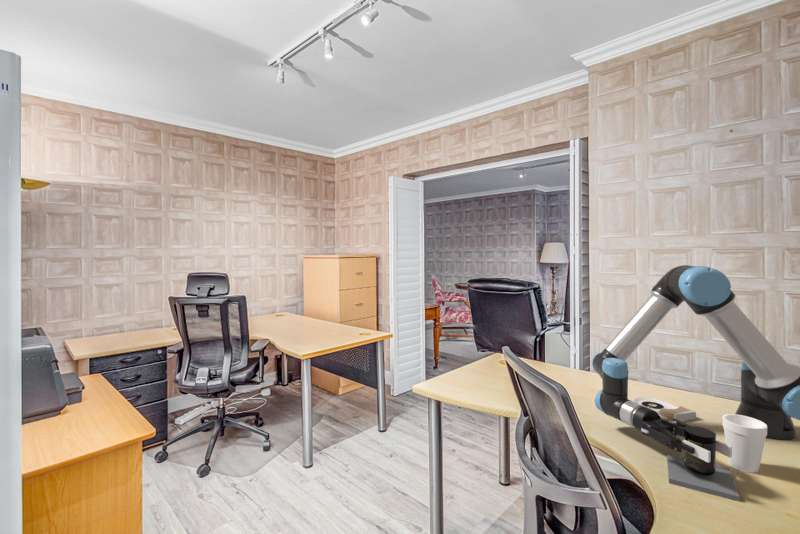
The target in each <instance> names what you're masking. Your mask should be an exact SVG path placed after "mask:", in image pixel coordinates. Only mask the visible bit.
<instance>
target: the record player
mask: <svg viewBox="0 0 800 534" xmlns="http://www.w3.org/2000/svg"><path fill="white" fill-rule="evenodd" d="M633 402H635V403H638V404H640V405H643V406H644V407H647V408H649V409H652V410H654V411H656V412H657V413H658V414H659V416H660V417H661V416H662V417H664V418H666V419H667V420H671V421H673V419H677V420H679V421H680V422H686V421H693V420H696V418H697V412H696V411H694V410H691V409H689V408H686V407H684V406H681V405H679V407H677V406H676V405H673V404H670V403H668V402H666V401H664V400H661V399H658V398H654V397H653V398H652V397H647V396H646V397H642V396H641V397H635V398H633Z"/></svg>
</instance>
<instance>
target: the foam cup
mask: <svg viewBox="0 0 800 534" xmlns="http://www.w3.org/2000/svg"><path fill="white" fill-rule="evenodd" d="M722 428H723V433H724V440H725V444H727V445H729V446H731V447H732V457H728V456H727V460H728V464H729V465H730V466H731V467H732V468H735V469H737V470H739V471H741V472H742V471H743V472H746V473H755V474H756V473H757V472H759V470H760V466H761V461H762V457H763V452H764V447H765V442H766V438H767V437H766V436H767V424H765V423H764V422H762V421H760V420H757V419H755V418H751V417H747V416H743V415H736V414H735V413H731V414H730V413H726V414H723V415H722Z"/></svg>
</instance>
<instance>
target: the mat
mask: <svg viewBox="0 0 800 534" xmlns="http://www.w3.org/2000/svg"><path fill="white" fill-rule="evenodd" d="M666 460H667V463H666V464H667V475H668V476H667V477H668V484H671V485H676V486H679V487H684V488H687V489H691V490H693V491H698V492H703V493H705V494H710V495H713V496H717V497H722V498H725V499H729V500H733V501H736V502H740V495H739V492H738V489H737V487H736V484H735V483H736V482H735V481H734V478H733V476H732V475H733V474H732V473H731V470H730V468H728V467H723V466H720V465H716V471H715V473H714V474H713V475H709V476H706V475H700V474H697V473H694V472H692V471H690V470H689V469H688V468H687V467H686V466H685V464H684V457H679V456H676V455H675V456H674V455H671V454H666Z"/></svg>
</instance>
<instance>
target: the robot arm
mask: <svg viewBox="0 0 800 534" xmlns="http://www.w3.org/2000/svg"><path fill="white" fill-rule="evenodd" d="M731 288H732V286H731V282H730V280H729V278H728V277H727V275H726V274H724V273H723V272H722V271H720V270H718V269H716V268H712V267H711V266H710V267H709V266H705V265H700V266H696V265H679V266H676V267H673V268H671V269H670V270H668V271H667V272H666V273H665V274H664V275H663V276H662V277H661V278H660V279H659V281H657V283H656V284H655V285H654V286H653V287H652V288H651V290H650V291H649V292H650V296H649V297H648V298H647V299H646V301H644V303H643V304H642V305H640V307H639V309H638V310H637V311H636V312H635V313H634V314H633V315H632V317H631V318H630V319H629V320H628V321H627V323H626V324H625V325H624V326H623V327H622V329H620V331H619V332H618V333H617V334H616V336H615V337H614V338H613V339H612V340H611V341H610V342H609V343H608V345H607V346H606V347H605V348H604V349H602V351H601V352H597V353H595V354H594V355H593V356H592V358H591V365H592V368H593V370H594V371H595V372H596V373H597V374H598V375H599V377H600V378H601V380H602V390H601V389H600V390H599V391H598V392H597V393H596V396H595V397H594V405H595V407H596V408H597V409H598V411H601V412H603V413H604V414H605V415H606V416H609V417H612V418H614V419H616V420H618V421H619V422H621V423H623V424H626V425H627V426H630V427H631V428H632V429H633V428H634V429H636V430H637V431H640V432H641V435H643V436H646V437H649V438H650V439H652V440H654V441H656V442H658V443H659V444H661V445H662V446H664V447H666V448H668V449H670V450H671V451H672V450H674V449H675V450H676V452H677V453H682V451H683V452H684V451H686V452H688V453H690V454H692V455H694V456H696V457H698V458H700V459H702V460H704V461H706V462H708V463H709V462H710V459H711V452H710V451H708V450H706V449H704V448H701V447H699V446H697V445H695V444H693V443H691V442H689V441H686V440H684V439H681V438H679V437H682V438H684V428H685V427H686V426H691V425H690V424H688V423H685V422H683V421H681V422H680V421H679V420H677V419H673V420H672V421H669V419H665V418H661V415H659V414H658V413H657V412H656V411H654V410H652V409H649V408H647V407H644V406H643V405H640V404H638V403H635V402H634V400H631V399H629V398H628V397H629V394H628V393H629V388H628V387H629V372H630V371H629V368H628V367H629V364H628V363H627V361H626V360H628V359H629V357H630V356H631V355H632V354H633V353H634V352H635V351H636V350H637V348H638V347H639V346H640V345H641V344H642V343H643V342H644V340H646V338H648V336H649V335H650V334H651V332H652V331H653V330H655V328H656V327H657V326H658V325H659V324H660V322H661V321H662V320H663V319H664V318H665V317H666V316H667V314H669V312H670V311H671V310H672V309H677V308H679V306H680V305H682V303H683V302H685V303H686V305H688V307H689V308H690V309H691V310H692V311H693V313H695V315H697V316H702V317H703V316H704V317H705V318H706V320H708V322H709V323H710V324H711V325H712V326H713V328H714V329H715V330H716V331H717V332H718V333H719V335H721V337H722V339H724V340H725V342H727V344H728V345H729V347H731V349H733V351H734V352H735V353H736V354H737V356H739V358H740V359H741V360H742V361H743V362H742V363H741V367H740V385H741V386H740V403H739V405H738V407H737V409H736V412H735V413H734V414H736V415H743V416H747V417H751V418H755V419H757V420H760V421H762V422H764V423H765V424H767V436H766V438H769V439H775V440H791V439H792V440H793V439H795V438H796V434H797V429H796V428H795V425H794V421H793V420H792V419H794V420H795V419H796V420H798V421H800V366H798V365H796V364H791V363H788V362H787V361H786V360H785V359H784V357H783V356H782V355H781V354H780V353H779V352H778V350H777V349H775V347H774V346H773V345H772V344H771V343H770V342H769V340H768V339H767V338H766V337H765V336H764V335H763V333H762V332H761V331H760V330H759V329H758V328H757V326H755V324H754V323H753V322H752V321H751V320H750V318H748V316H747V315H746V314H745V313H744V312H743V311H742V310H741V309H740V308H739V306H738V305H737V303H736V302H735V299H736V294H735V292H733V291H732V290H731ZM678 436H679V437H678ZM716 452H717V453H719V454H720V455H721V454H722V455H724V456H726V457H727V458H728V457H732V447H731V446H729V445H727V444H726V443H725V442H722V441H720V440H717V439H716Z"/></svg>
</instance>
